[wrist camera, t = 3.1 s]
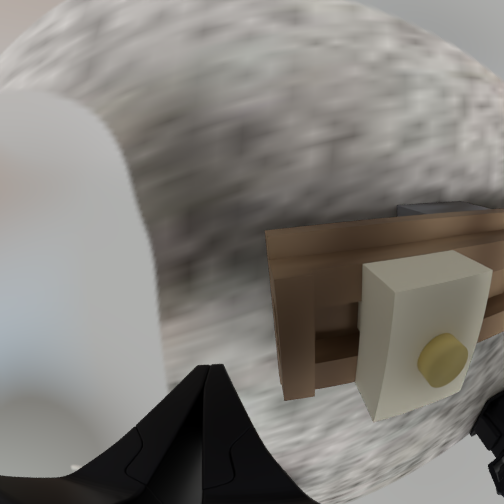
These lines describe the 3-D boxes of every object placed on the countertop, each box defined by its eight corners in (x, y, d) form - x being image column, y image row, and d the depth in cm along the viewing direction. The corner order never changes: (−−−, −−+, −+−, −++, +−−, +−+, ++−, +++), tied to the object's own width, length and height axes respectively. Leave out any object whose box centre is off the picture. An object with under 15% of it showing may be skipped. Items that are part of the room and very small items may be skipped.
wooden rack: (520, 199, 14) (576, 214, 8) (511, 285, 16) (558, 314, 10) (260, 218, 14) (271, 250, 9) (273, 339, 16) (285, 414, 10)
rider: (430, 239, 11) (508, 278, 6) (418, 342, 12) (469, 403, 7) (347, 250, 11) (409, 306, 6) (344, 360, 12) (380, 438, 7)
